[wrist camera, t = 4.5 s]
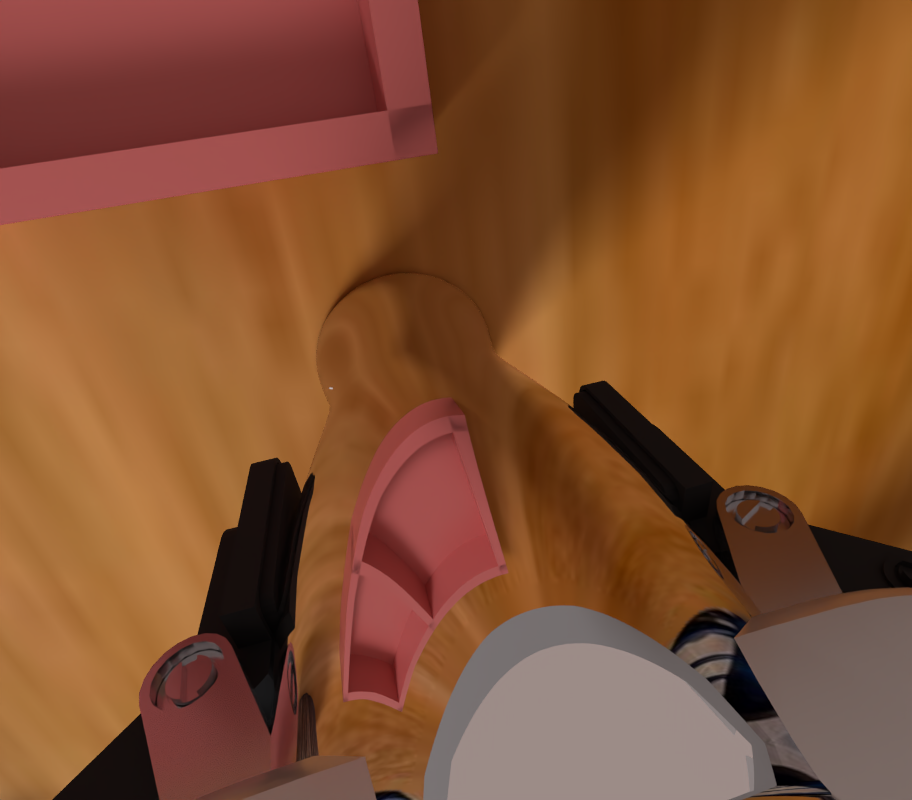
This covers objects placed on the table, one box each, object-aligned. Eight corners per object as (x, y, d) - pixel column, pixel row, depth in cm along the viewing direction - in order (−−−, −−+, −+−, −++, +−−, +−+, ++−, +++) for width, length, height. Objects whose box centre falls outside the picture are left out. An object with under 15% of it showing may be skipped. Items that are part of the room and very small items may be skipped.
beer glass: (444, 215, 15) (1008, 673, 3) (529, 379, 19) (938, 901, 6) (256, 330, 16) (-20, 1200, 3) (375, 470, 19) (471, 1129, 7)
